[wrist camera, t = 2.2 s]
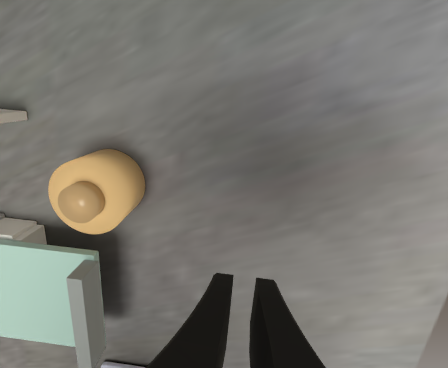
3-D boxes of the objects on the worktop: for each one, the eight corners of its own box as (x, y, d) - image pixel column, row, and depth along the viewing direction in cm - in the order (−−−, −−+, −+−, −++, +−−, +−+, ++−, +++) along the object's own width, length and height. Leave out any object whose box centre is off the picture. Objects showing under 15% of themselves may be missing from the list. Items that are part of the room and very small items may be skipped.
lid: (109, 344, 22) (92, 376, 20) (-10, 327, 23) (-41, 356, 20) (102, 251, 19) (80, 274, 17) (-34, 235, 20) (-74, 255, 17)
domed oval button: (146, 215, 21) (120, 246, 17) (84, 208, 21) (43, 237, 17) (144, 152, 19) (115, 168, 15) (77, 145, 20) (30, 160, 15)
